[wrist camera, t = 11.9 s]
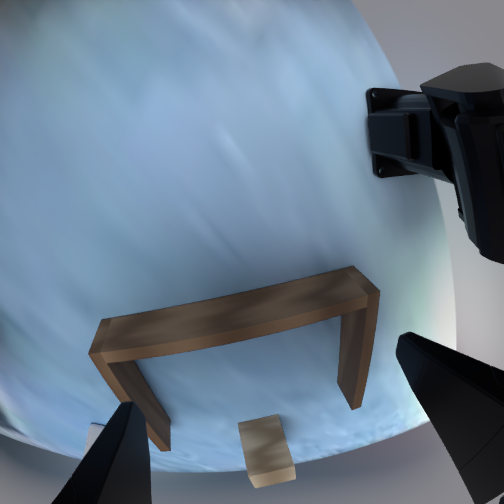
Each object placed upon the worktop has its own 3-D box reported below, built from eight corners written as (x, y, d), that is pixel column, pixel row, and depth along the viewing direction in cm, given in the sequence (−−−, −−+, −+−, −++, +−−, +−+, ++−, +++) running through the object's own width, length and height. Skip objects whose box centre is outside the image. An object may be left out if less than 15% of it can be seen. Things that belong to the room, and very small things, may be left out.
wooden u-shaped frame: (353, 265, 22) (380, 291, 18) (345, 379, 27) (360, 406, 24) (101, 319, 20) (88, 353, 16) (161, 420, 25) (161, 451, 22)
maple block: (277, 413, 28) (294, 465, 21) (281, 431, 30) (295, 478, 23) (237, 422, 27) (248, 476, 21) (244, 440, 29) (255, 488, 23)
